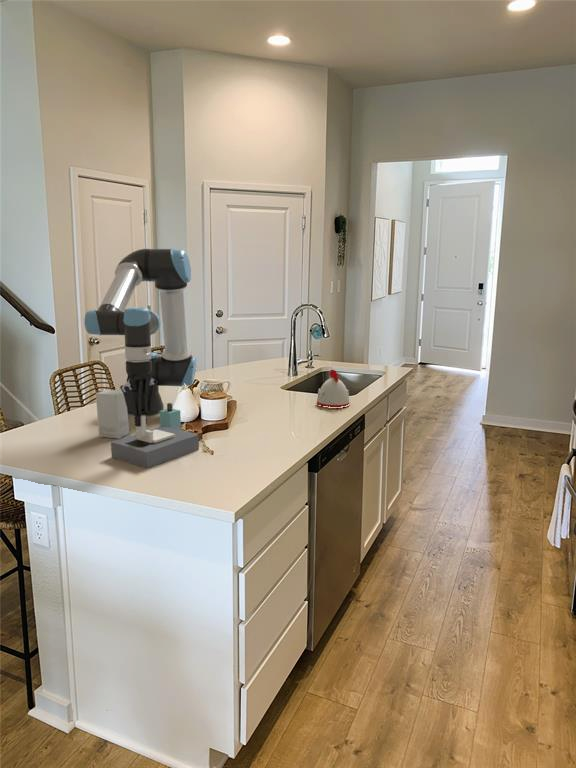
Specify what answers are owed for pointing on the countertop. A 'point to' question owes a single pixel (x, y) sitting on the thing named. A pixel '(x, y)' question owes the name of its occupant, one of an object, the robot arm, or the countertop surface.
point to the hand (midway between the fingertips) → (141, 435)
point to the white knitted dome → (333, 392)
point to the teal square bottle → (170, 417)
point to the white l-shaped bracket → (155, 436)
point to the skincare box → (112, 414)
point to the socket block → (154, 448)
